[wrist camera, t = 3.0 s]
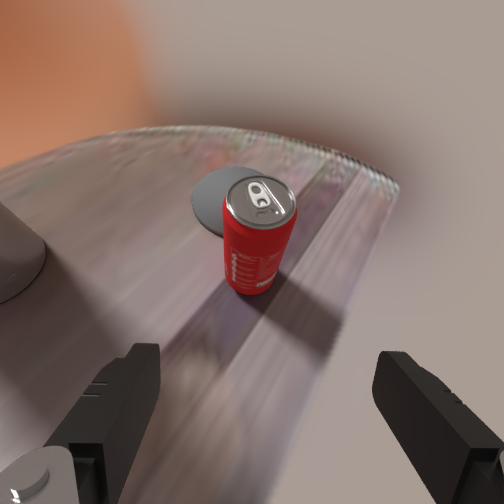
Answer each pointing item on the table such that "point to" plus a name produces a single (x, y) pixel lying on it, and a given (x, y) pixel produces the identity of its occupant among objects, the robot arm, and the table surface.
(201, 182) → the rubber mat
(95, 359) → the table surface
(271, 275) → the beverage can
